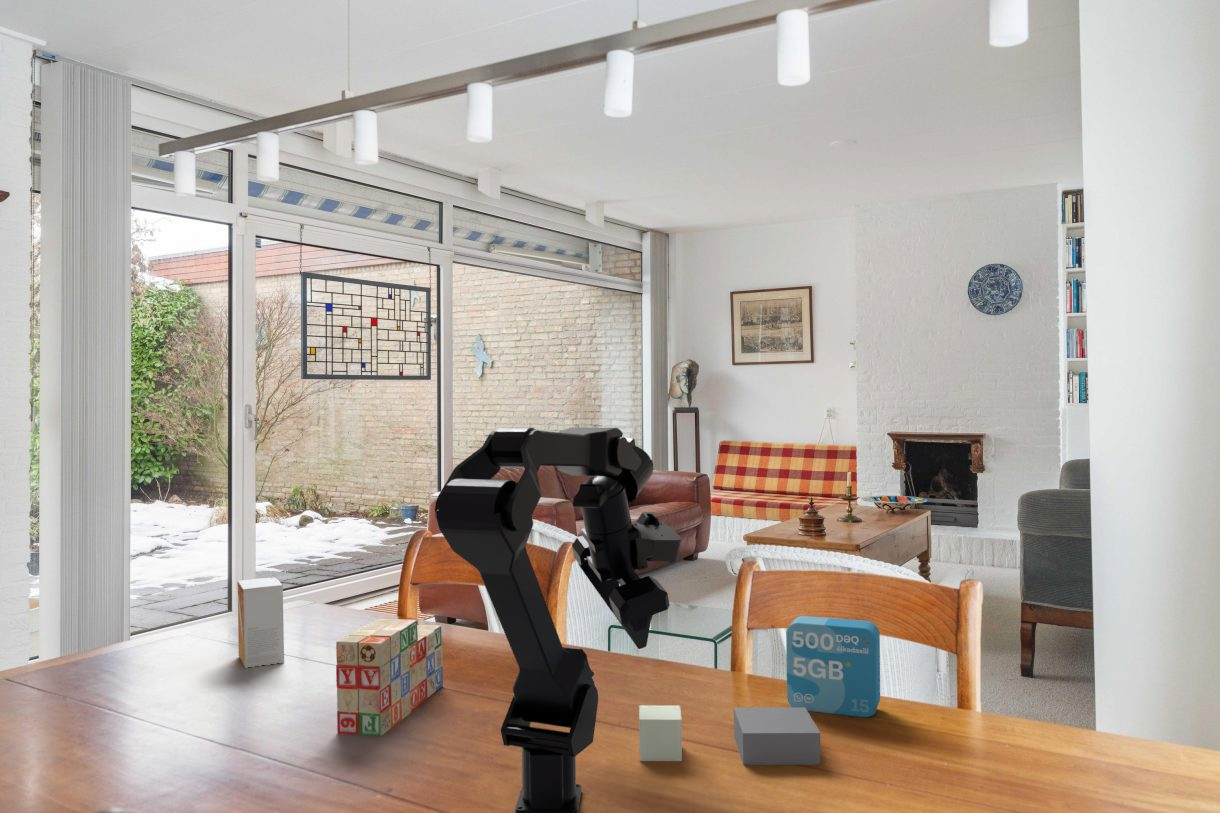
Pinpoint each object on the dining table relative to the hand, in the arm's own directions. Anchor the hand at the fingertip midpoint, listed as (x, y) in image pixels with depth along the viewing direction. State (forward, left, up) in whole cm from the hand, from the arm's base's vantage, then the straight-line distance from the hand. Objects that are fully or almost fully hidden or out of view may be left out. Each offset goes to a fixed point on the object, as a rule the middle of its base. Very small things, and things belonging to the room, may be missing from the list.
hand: (628, 628), depth 118 cm
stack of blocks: (+10, +33, -14) cm, 37 cm away
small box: (+33, +62, -14) cm, 72 cm away
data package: (+9, -28, -14) cm, 32 cm away
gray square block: (-6, -18, -14) cm, 23 cm away
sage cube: (-7, -4, -13) cm, 15 cm away
